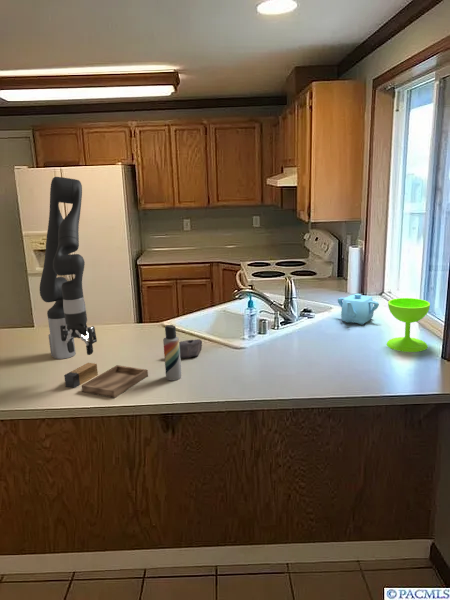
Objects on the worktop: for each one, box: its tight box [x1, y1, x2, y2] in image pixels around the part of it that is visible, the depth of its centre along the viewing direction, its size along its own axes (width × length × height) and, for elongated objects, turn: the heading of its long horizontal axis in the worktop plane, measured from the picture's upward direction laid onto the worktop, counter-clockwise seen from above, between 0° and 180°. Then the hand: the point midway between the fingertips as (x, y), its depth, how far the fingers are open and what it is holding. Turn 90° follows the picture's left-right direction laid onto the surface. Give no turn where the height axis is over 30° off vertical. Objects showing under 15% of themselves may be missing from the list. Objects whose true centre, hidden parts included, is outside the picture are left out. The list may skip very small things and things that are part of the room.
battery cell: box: [63, 362, 99, 389], centre depth 188 cm, size 4×14×4 cm, turn 154°
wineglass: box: [386, 297, 431, 353], centre depth 207 cm, size 16×16×18 cm
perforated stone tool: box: [179, 338, 203, 359], centre depth 207 cm, size 15×5×7 cm, turn 96°
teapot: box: [337, 293, 380, 326], centre depth 242 cm, size 18×16×14 cm
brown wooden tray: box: [81, 364, 149, 399], centre depth 184 cm, size 14×20×2 cm
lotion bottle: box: [162, 324, 183, 381], centre depth 185 cm, size 6×6×20 cm
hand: (80, 353), depth 186 cm, fingers open, 8 cm apart
